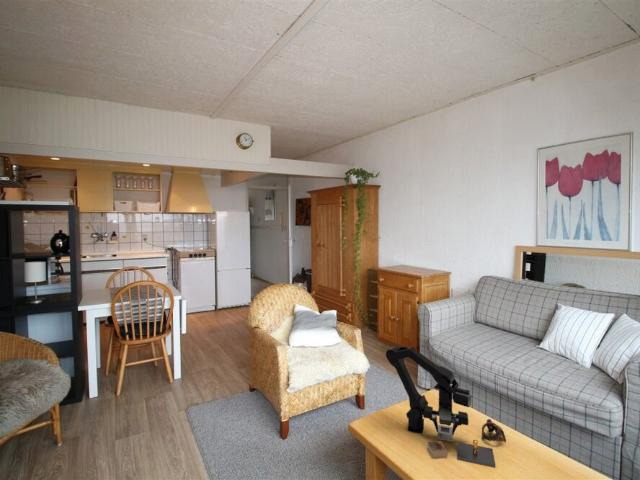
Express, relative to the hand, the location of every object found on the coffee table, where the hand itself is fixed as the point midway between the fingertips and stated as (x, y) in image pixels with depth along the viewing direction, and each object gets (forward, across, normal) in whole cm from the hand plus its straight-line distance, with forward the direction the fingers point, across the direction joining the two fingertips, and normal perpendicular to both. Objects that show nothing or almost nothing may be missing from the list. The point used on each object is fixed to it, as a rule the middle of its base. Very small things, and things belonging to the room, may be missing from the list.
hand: (445, 433), depth 157 cm
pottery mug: (+3, +20, +8) cm, 22 cm away
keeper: (+3, +12, -7) cm, 14 cm away
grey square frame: (+1, 0, 0) cm, 1 cm away
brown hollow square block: (+3, -3, -10) cm, 11 cm away
